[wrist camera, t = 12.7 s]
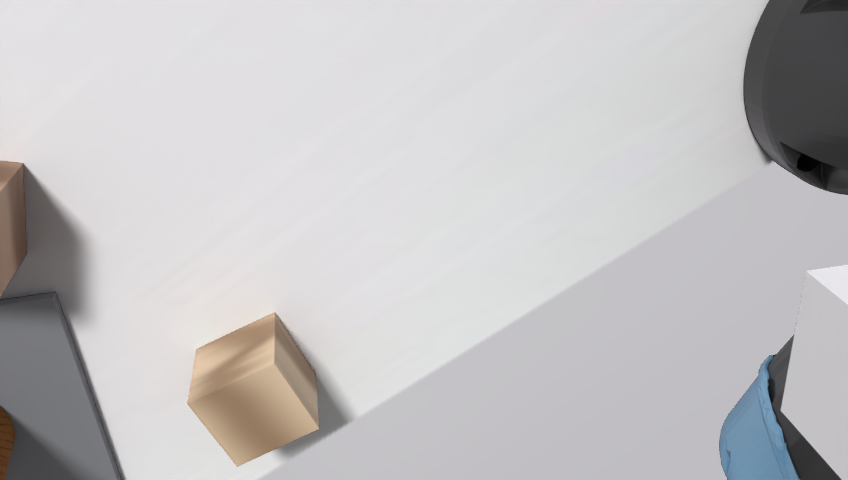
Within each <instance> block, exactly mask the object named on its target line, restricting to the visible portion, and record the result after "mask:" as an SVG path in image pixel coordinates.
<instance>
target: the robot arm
mask: <svg viewBox="0 0 848 480" xmlns="http://www.w3.org/2000/svg"><path fill="white" fill-rule="evenodd" d="M744 100H745V107H746V112H747V117H748V120H749V123H750V126H751V129H752V131H753V134H754V136H755V137H756V139H757V141H758V143H759V144H760V146H761V147H762V149H763V150H764V151H765V152H766V154H767V155H768V156H769V157H770V158H771V159H772V160H773V161H775V162H776V163H777V164H778V165H780V166H781V167H783V168H784V169H786V170H787V171H789V172H791V173H792V174H794V175H795V176H797V177H798V178H800V179H801V180H803V181H805V182H807V183H809V184H811V185H813V186H815V187H818V188H820V189H823V190H826V191H829V192H834V193H838V194H845V195H848V0H769V2H768V4H767V6H766V8H765V9H764V11H763V13H762V15H761V17H760V20H759V22H758V24H757V27H756V29H755V32H754V35H753V37H752V41H751V44H750V47H749V51H748V56H747V60H746V67H745V76H744ZM719 450H720V457H721V464H722V467H723V470H724V472H725V475H726V477H727V480H848V264H847V265H840V266H834V267H828V268H821V269H815V270H809V271H806V274H805V279H804V285H803V291H802V296H801V302H800V307H799V312H798V318H797V323H796V329H795V334H794V335H793V336H792V338H791V339H790V340H789V341H788V342H787V343H786V344H785V345H784V347H783V348H782V349H781V350H780V351H779V352H778V353H777V354H776V355H769V357H768V358H767V359H766V360H765V361H764V362H763V363H762V364H761V366H760V369H759V375H758V377H757V378H756V379H755V381H754V382H753V383H752V385H751V386H750V387H749V389H748V390H747V391H746V393H745V394H744V395H743V396H742V398H741V399H740V400H739V401H738V403H737V404H736V405H735V407H734V408H733V409H732V411H731V412H730V413H729V414H728V416H727V418H726V420H725V422H724V424H723V426H722V429H721V434H720V441H719Z"/></svg>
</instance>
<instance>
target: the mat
mask: <svg viewBox="0 0 848 480" xmlns="http://www.w3.org/2000/svg"><path fill="white" fill-rule="evenodd" d="M0 407H2V409H3V410H4V411H5V412H6V413H7V415H8V416H9V418H10V420H11V421H12V423H13V426H14V430H15V442H14V445H13V449H12V451H11V452H12V454H11V457H10V461H9V466H8V467H7V468H8V469H7V474H6V475H5V476H6V478H5V480H121V477H120V474H119V471H118V469H117V466H116V463H115V460H114V457H113V454H112V451H111V449H110V446H109V443H108V440H107V437H106V434H105V432H104V429H103V426H102V423H101V420H100V417H99V414H98V412H97V409H96V406H95V403H94V400H93V397H92V394H91V392H90V389H89V386H88V383H87V380H86V377H85V375H84V372H83V369H82V366H81V363H80V360H79V357H78V355H77V352H76V349H75V346H74V343H73V340H72V337H71V335H70V332H69V329H68V326H67V323H66V320H65V318H64V315H63V312H62V309H61V306H60V303H59V300H58V298H57V295H56V292H52V293H46V294H39V295H32V296H25V297H18V298H11V299H4V300H0Z"/></svg>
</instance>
